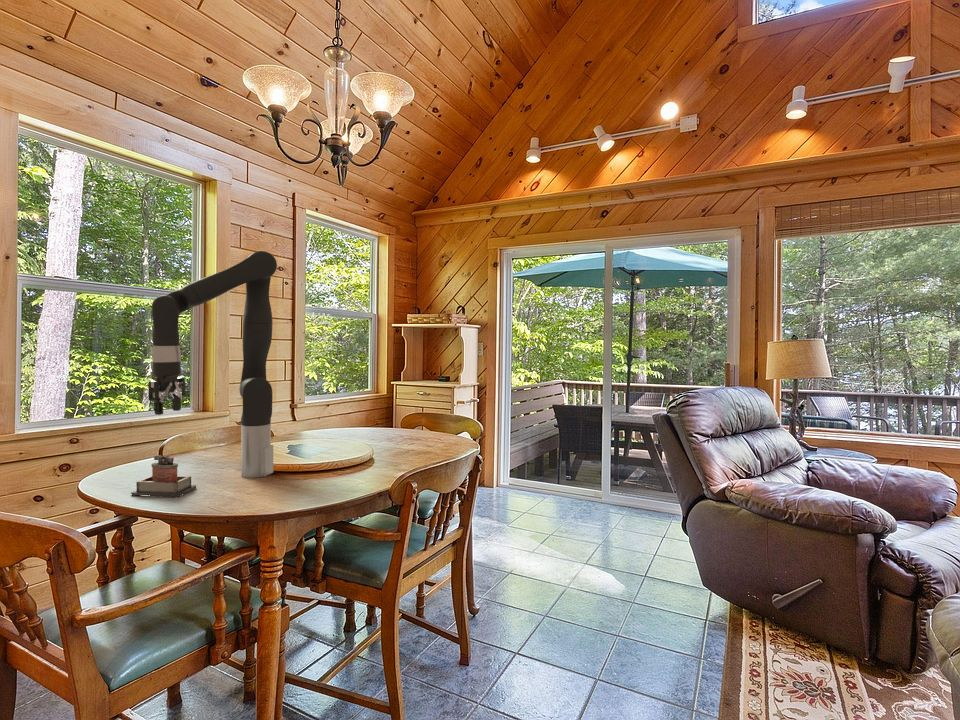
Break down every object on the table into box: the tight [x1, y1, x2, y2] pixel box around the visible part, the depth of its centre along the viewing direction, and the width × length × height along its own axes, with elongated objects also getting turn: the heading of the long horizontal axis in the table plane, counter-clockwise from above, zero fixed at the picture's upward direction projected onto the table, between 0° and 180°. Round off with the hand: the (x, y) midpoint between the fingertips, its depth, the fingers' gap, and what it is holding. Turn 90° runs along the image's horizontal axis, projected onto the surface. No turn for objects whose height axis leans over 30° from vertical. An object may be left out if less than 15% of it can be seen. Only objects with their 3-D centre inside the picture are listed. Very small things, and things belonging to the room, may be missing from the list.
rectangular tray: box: [130, 475, 197, 498], centre depth 154 cm, size 9×14×4 cm, turn 86°
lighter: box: [151, 454, 179, 482], centre depth 154 cm, size 8×3×10 cm, turn 80°
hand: (168, 412), depth 160 cm, fingers open, 8 cm apart
